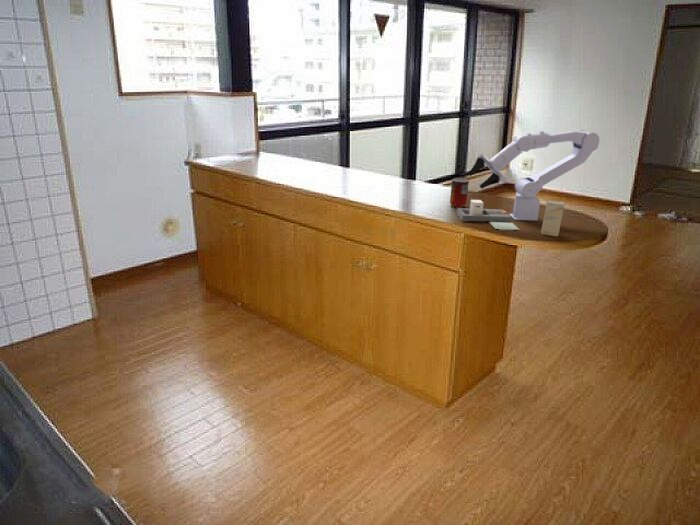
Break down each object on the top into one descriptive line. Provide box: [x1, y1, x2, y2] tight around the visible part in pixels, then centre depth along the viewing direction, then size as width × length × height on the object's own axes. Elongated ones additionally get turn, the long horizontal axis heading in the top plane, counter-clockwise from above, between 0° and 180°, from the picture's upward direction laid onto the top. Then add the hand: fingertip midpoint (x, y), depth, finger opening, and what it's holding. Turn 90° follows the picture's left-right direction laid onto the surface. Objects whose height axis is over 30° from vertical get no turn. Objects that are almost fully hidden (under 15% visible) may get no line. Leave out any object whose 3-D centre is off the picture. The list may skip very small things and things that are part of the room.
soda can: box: [449, 177, 470, 209], centre depth 222 cm, size 7×7×12 cm
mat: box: [488, 222, 520, 232], centre depth 196 cm, size 9×9×1 cm
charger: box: [469, 199, 484, 215], centre depth 206 cm, size 4×5×7 cm
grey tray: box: [456, 207, 512, 223], centre depth 206 cm, size 19×11×3 cm, turn 90°
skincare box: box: [540, 199, 566, 237], centre depth 187 cm, size 6×4×12 cm
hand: (474, 180), depth 202 cm, fingers open, 7 cm apart
